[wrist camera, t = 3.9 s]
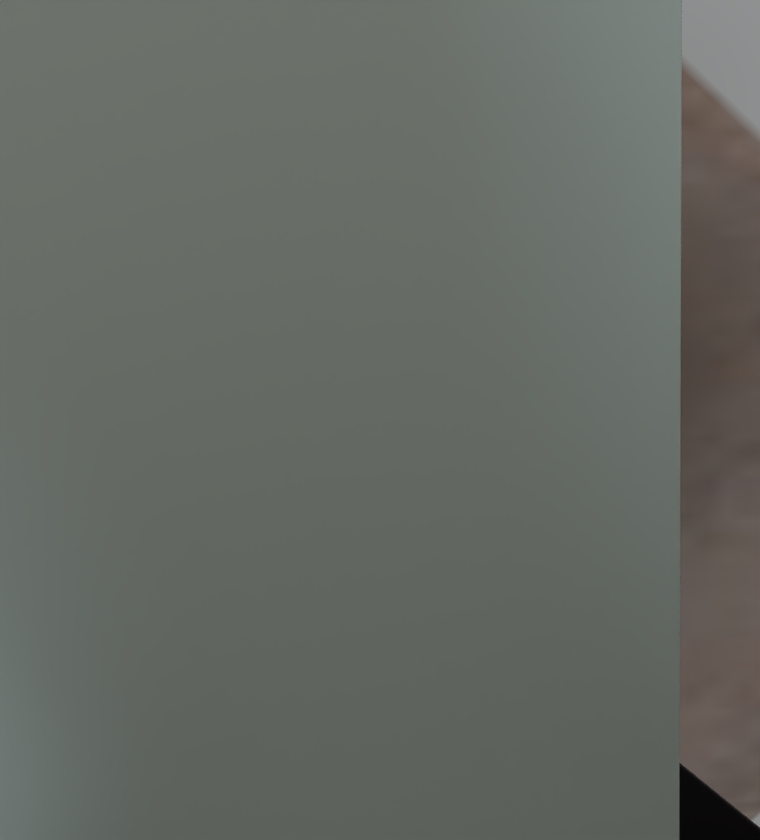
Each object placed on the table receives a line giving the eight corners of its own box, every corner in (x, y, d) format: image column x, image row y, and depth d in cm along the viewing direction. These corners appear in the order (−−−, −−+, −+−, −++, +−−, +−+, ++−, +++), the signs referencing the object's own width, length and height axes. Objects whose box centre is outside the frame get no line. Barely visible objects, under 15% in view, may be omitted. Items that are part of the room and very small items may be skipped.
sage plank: (564, 1043, 10) (677, 1542, 6) (284, 1063, 10) (223, 1561, 6) (504, 73, 6) (682, -192, 3) (72, 131, 7) (-370, -34, 3)
